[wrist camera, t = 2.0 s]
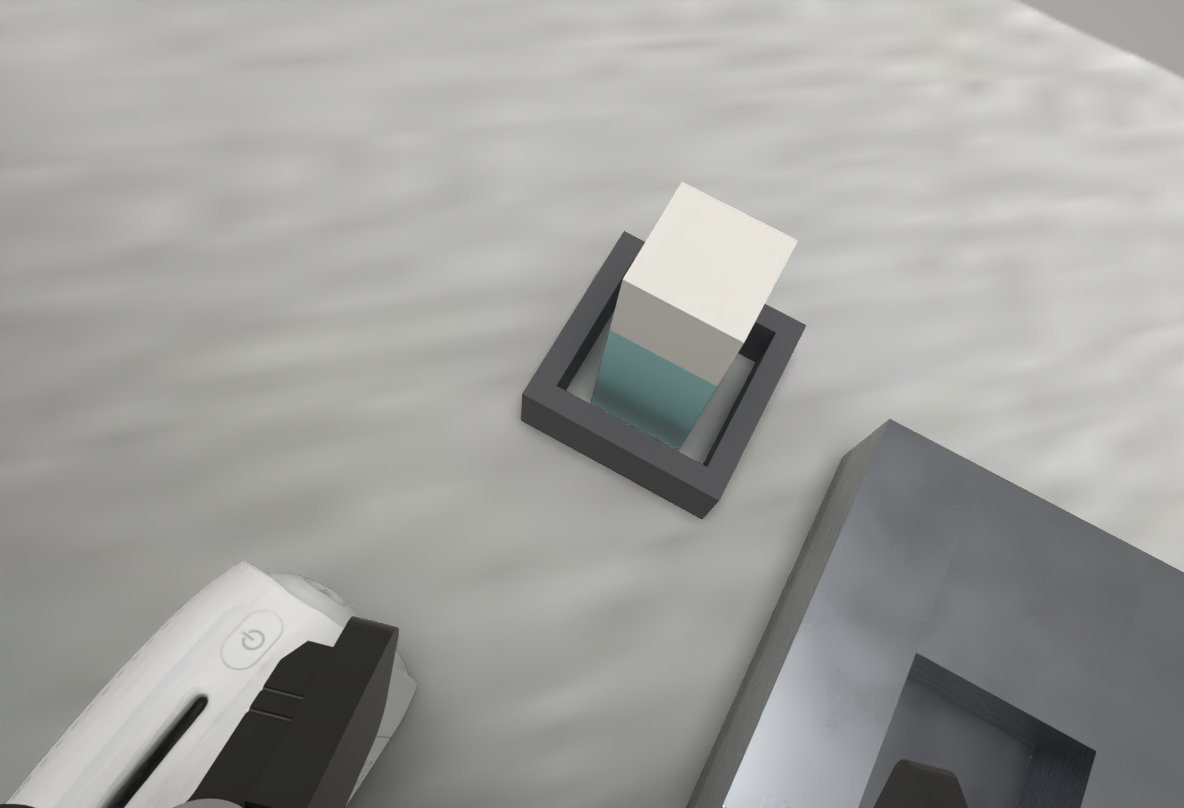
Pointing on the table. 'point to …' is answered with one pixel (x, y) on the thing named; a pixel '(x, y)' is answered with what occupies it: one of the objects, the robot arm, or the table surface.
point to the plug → (686, 312)
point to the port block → (958, 650)
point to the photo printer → (195, 694)
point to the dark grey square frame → (624, 443)
